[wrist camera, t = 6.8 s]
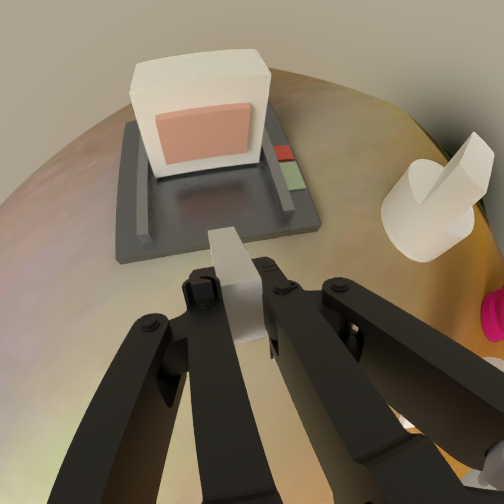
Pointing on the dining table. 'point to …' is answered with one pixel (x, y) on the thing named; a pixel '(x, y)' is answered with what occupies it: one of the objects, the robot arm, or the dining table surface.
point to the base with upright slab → (437, 201)
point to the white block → (201, 109)
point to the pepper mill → (493, 315)
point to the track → (209, 199)
